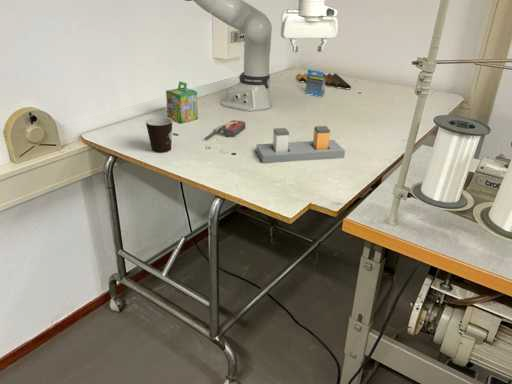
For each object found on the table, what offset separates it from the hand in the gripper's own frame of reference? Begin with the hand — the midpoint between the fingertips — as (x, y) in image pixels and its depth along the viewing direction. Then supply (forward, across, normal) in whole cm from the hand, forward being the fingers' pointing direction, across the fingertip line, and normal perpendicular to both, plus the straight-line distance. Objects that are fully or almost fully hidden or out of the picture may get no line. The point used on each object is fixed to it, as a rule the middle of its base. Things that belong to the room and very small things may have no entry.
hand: (307, 51), depth 148 cm
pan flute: (+30, +34, +68) cm, 82 cm away
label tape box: (+29, +22, +46) cm, 59 cm away
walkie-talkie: (+30, -30, -2) cm, 42 cm away
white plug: (+29, -16, -25) cm, 41 cm away
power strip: (+29, -8, -25) cm, 39 cm away
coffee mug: (+29, -53, -12) cm, 62 cm away
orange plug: (+29, -1, -25) cm, 38 cm away
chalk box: (+29, -45, +18) cm, 57 cm away
